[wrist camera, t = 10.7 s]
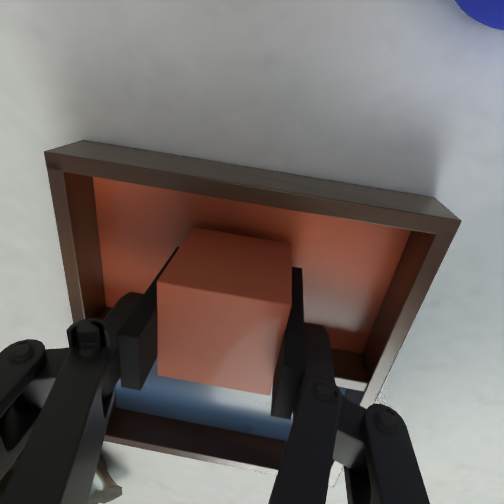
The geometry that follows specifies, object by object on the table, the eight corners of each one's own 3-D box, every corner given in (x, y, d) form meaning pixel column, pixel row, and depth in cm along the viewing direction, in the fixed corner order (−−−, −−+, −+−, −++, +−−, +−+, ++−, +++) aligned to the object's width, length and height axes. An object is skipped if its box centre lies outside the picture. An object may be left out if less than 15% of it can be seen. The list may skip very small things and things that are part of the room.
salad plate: (91, 532, 39) (68, 585, 35) (-59, 476, 37) (-103, 526, 33) (141, 456, 30) (118, 515, 26) (-52, 376, 28) (-112, 427, 24)
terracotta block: (292, 243, 16) (291, 304, 12) (275, 321, 19) (269, 396, 14) (192, 226, 16) (156, 281, 12) (188, 305, 19) (157, 375, 14)
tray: (330, 446, 26) (334, 487, 24) (112, 403, 27) (92, 439, 24) (435, 197, 16) (462, 220, 13) (82, 139, 17) (43, 150, 14)
